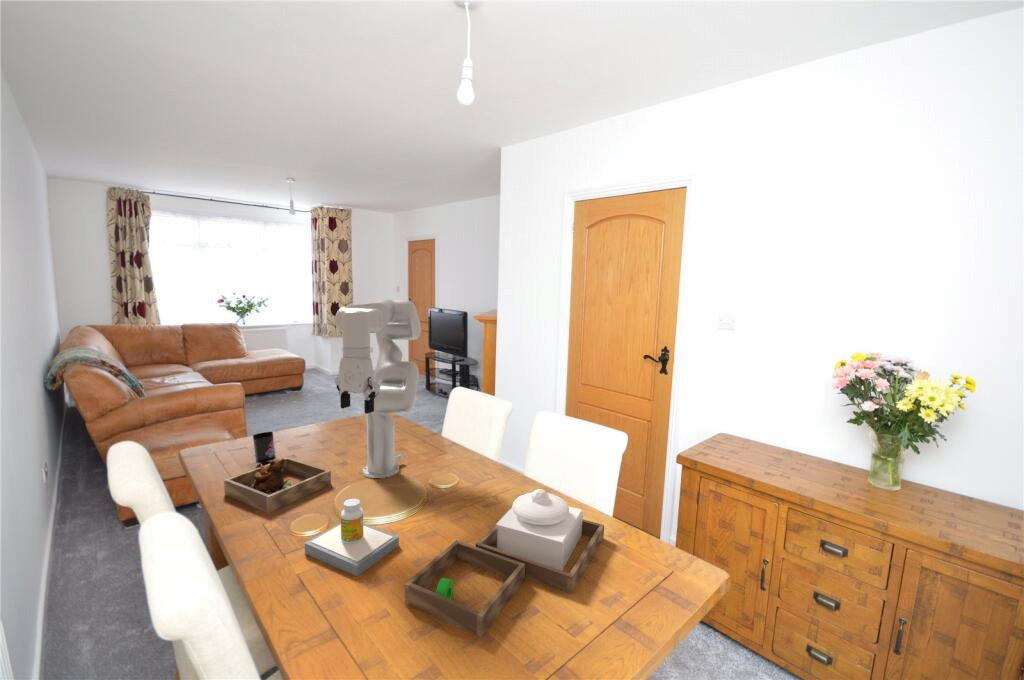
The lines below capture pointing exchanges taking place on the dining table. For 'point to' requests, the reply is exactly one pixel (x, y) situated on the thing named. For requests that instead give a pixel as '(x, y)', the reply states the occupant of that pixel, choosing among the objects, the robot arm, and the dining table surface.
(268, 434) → the supplement container
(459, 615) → the tray
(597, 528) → the dish tray frame
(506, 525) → the butter dish
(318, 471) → the brown wooden tray
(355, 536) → the supplement bottle
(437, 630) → the dining table surface
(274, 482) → the bear figurine
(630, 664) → the dining table surface
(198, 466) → the dining table surface
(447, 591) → the mechanical part
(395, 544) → the plinth
